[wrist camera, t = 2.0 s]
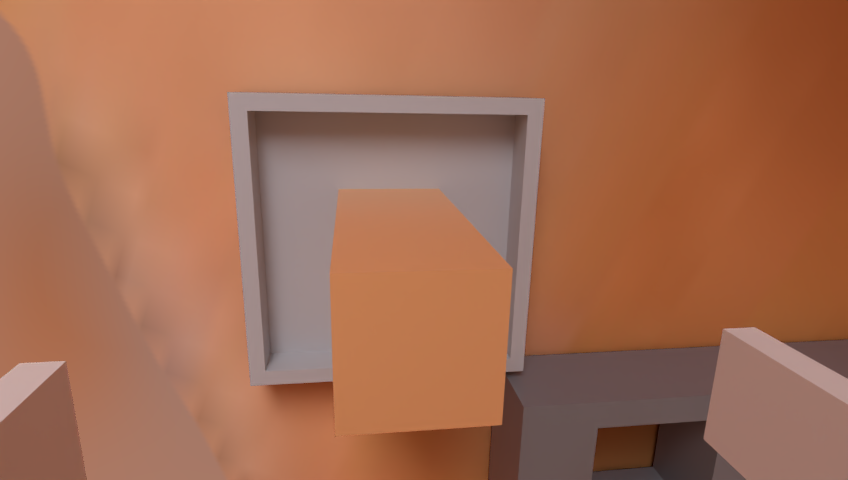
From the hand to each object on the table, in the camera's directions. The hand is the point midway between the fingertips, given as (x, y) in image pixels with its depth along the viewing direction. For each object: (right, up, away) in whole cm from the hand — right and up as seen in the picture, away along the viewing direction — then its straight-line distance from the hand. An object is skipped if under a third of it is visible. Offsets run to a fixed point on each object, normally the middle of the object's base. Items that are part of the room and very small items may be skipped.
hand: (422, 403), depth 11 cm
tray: (-1, +4, +11) cm, 12 cm away
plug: (-1, +3, +11) cm, 11 cm away
